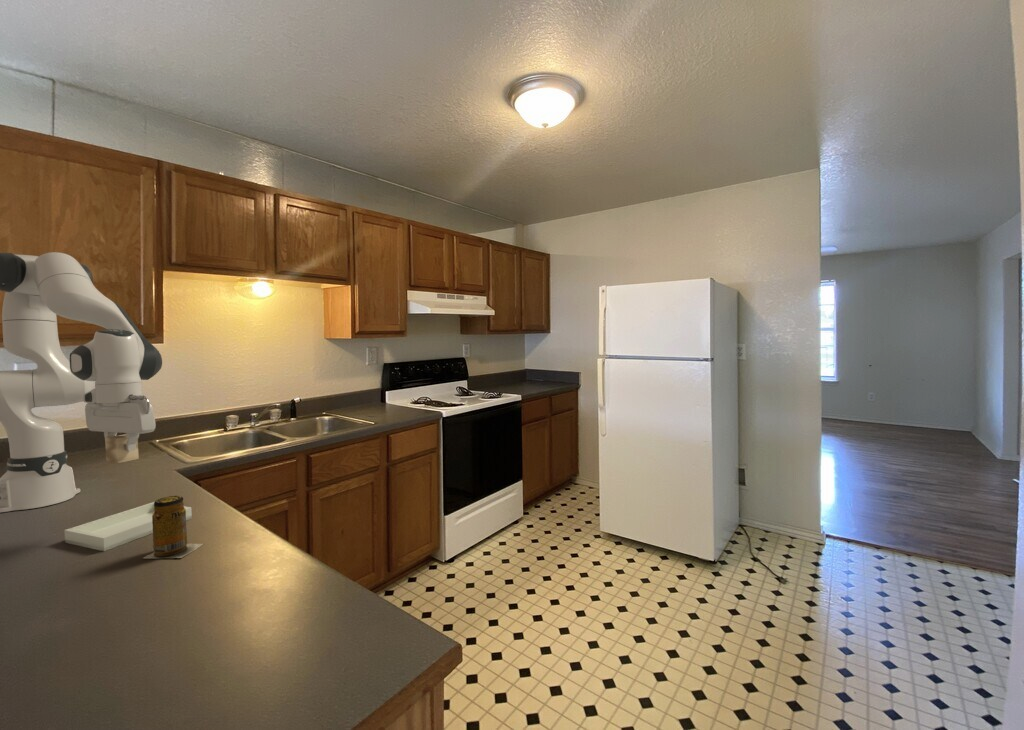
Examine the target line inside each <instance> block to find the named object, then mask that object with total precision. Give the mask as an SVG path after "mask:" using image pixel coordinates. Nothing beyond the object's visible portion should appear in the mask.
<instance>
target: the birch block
mask: <svg viewBox="0 0 1024 730" xmlns="http://www.w3.org/2000/svg"><path fill="white" fill-rule="evenodd" d="M127 439H128V437H126V433H124V434H119V435H118V434H117V435H116V436H112V437H106V438H105V437H104V441H105V442H104V444H105V461H106V462H107V463H113V464H114V463H115V464H120V463H125V462H129V461H133V460H139V459H140V458H139V455H140V454H139V439H138V440H137V442H136V450H133V451H125V450H124V448H125V447H124V444H126V442H127Z"/></svg>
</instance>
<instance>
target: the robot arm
mask: <svg viewBox="0 0 1024 730" xmlns="http://www.w3.org/2000/svg"><path fill="white" fill-rule="evenodd" d="M93 277H94V276H93V273H92V271H91V270H90V268H89V267H88V266H87V265H84V264H82V263H80V262H79V261H78V260H77V259H75V258H74V256H71V255H70V254H68V253H65V252H58V251H52V252H47V253H46V252H45V253H42V254H40V255H39V256H38V255H29V254H16V253H13V252H0V291H2V292H5V293H4V297H3V302H2V311H1V312H2V313H1V318H2V320H1V321H2V322H1V323H2V338H3V341H2V343H3V347H4V349H6V351H8V353H10V354H12V355H13V356H16V357H20V358H23V359H27V360H29V361H32V362H33V363H35V364H36V368H35V369H19V370H13V369H12V370H0V423H1V425H2V426H3V428H4V430H5V432H6V436H7V440H8V444H9V445H8V447H9V458H7V462H6V472H5V473H4V474H3V475H1V477H0V513H6V512H12V511H21V510H29V509H36V508H42V507H47V506H51V505H56V504H60V503H63V502H66V501H68V500H71V499H72V498H74V497H75V496H76V495H77V494H79V493H81V488H79V487H76V483H75V476H74V471H73V467H71V466H70V465H68V464H67V463H68V454H67V450H65V438H64V437H65V436H64V428H63V426H62V425H61V424H60V423H59V422H57V421H55V420H52V419H48V418H45V417H40V416H39V415H35V414H34V413H33V411H32V409H35V408H42V407H58V406H69V405H72V404H77V403H82V402H84V403H86V404H85V407H84V412H85V422H86V423H85V425H86V427H87V429H88V430H89V432H103V436H104V439H105V438H106V437H112V436H118V433H119V434H126V437H128V439H127V442H126V444H124V447H125V448H124V450H125V451H133V450H136V442H137V440H138V441H139V438H140V435H141V434H149V433H153V432H155V430H156V416H155V412H154V407H153V405H152V404H151V403H150V400H149V399H148V397H146V395H143V386H142V385H143V383H142V381H148V380H150V379H151V378H153V377H155V376H156V375H157V374H158V373H159V372H160V371H161V369H162V367H163V358H162V355H161V353H160V351H159V350H158V348H156V347H155V346H154V345H153V344H152V343H151V342H150V341H148V339H147V338H146V337H145V335H143V333H142V332H141V330H140V329H139V327H138V326H137V325H136V324H135V323H134V321H133V320H132V318H131V317H130V316H129V315H128V314H127V312H126V311H125V310H124V308H122V306H121V305H120V304H118V303H117V302H116V301H113V300H111V299H110V298H108V297H106V296H105V295H104V294H103V293H102V292H101V291H99V289H97V287H95V285H94V284H93V283H94V278H93ZM57 316H59V317H62V318H65V319H67V320H68V319H69V320H73V321H76V322H77V321H79V322H82V323H83V322H84V323H88V324H90V325H91V324H92V325H95V326H99V327H102V328H104V329H100V330H96V331H95V333H94V336H93V338H92V340H90V341H89V342H87V343H85V344H80V345H79V346H77V347H75V348H74V349H73V350H72V351H71V352H70V354H69V359H68V358H67V357H66V355H65V354H64V352H63V351H62V348H61V344H60V340H59V331H58V330H59V329H58V320H57V319H58V317H57Z"/></svg>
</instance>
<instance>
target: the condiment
mask: <svg viewBox="0 0 1024 730" xmlns="http://www.w3.org/2000/svg"><path fill="white" fill-rule="evenodd" d="M153 502H154V511H155V512H154V513H153V515H152V524H153V533H152V542H153V543H152V544H153V552H152V553H150V554H148V555H145V556H144V557H143V559H146V560H147V559H153V560H154V559H155V560H156V559H157V560H158V559H159V560H160V559H182V558H184V557H186V556H187V555H189V554H191V553H192V552H194V551H196V550H197V549H199V548H200V547H201V546H203V545H204V543H188V536H187V533H188V531H187V521H186V509H185V508H184V506H185V505H184V504H185V503H184V497H183V496H181V495H169V496H164V497H160V498H158V499H155V501H153Z"/></svg>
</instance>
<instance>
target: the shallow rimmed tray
mask: <svg viewBox="0 0 1024 730" xmlns="http://www.w3.org/2000/svg"><path fill="white" fill-rule="evenodd" d="M154 502H155V501H152V502H149V503H145V504H143V505H140V506H137V507H135V508H134V507H133V508H131V509H127V510H124V511H121V512H118V513H114V514H111V515H108V516H104V517H102V518H98V519H95V520H92V521H88V522H85V523H83V524H80V525H77V526H73V527H69V528H67V529H64V542H65V544H70V545H75V546H79V547H83V548H89V549H92V550H95V551H96V550H97V551H101V552H107V551H109V550H111V549H115V548H117V547H119V546H122V545H125V544H128V543H130V542H132V541H135V540H138V539H141V538H143V537H146V536H149V535H153V524H152V515H153V513H154V512H155V511H154ZM184 508H185V509H186V522H187V521H189V520H191V519H193V515H192V514H193V512H192V510H193V509H192V507H191V506H185V505H184Z"/></svg>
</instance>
